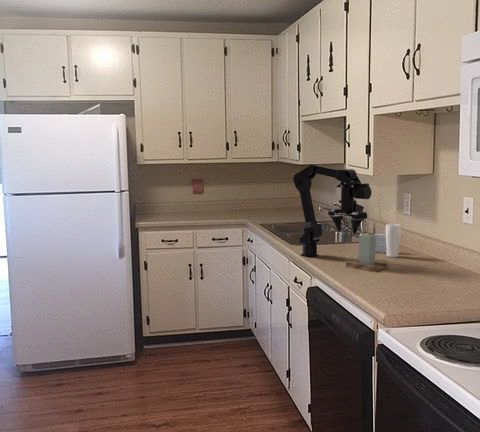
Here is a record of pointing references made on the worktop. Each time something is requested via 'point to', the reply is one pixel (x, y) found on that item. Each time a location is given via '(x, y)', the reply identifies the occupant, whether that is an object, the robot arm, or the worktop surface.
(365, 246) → the block
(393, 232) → the white cylinder
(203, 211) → the worktop surface
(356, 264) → the walnut trough
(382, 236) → the medicine box
